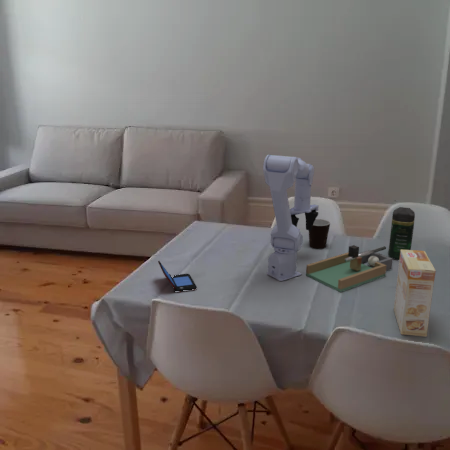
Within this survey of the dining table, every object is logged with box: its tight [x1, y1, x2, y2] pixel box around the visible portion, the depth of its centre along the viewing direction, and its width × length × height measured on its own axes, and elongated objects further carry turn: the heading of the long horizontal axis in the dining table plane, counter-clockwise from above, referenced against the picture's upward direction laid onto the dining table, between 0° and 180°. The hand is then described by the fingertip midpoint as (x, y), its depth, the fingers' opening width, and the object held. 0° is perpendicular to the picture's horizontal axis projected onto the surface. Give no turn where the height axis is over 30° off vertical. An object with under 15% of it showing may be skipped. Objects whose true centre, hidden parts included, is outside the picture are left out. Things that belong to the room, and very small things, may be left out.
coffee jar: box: [387, 206, 416, 261], centre depth 192 cm, size 10×8×19 cm
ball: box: [367, 256, 379, 268], centre depth 185 cm, size 4×4×4 cm
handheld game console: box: [157, 260, 198, 292], centre depth 171 cm, size 12×11×7 cm
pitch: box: [305, 249, 394, 293], centre depth 179 cm, size 29×16×4 cm, turn 125°
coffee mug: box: [307, 218, 331, 250], centre depth 205 cm, size 12×9×10 cm
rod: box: [345, 244, 387, 271], centre depth 181 cm, size 20×3×8 cm, turn 125°
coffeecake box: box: [393, 249, 437, 337], centre depth 144 cm, size 15×7×20 cm, turn 170°
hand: (301, 232), depth 190 cm, fingers open, 7 cm apart
